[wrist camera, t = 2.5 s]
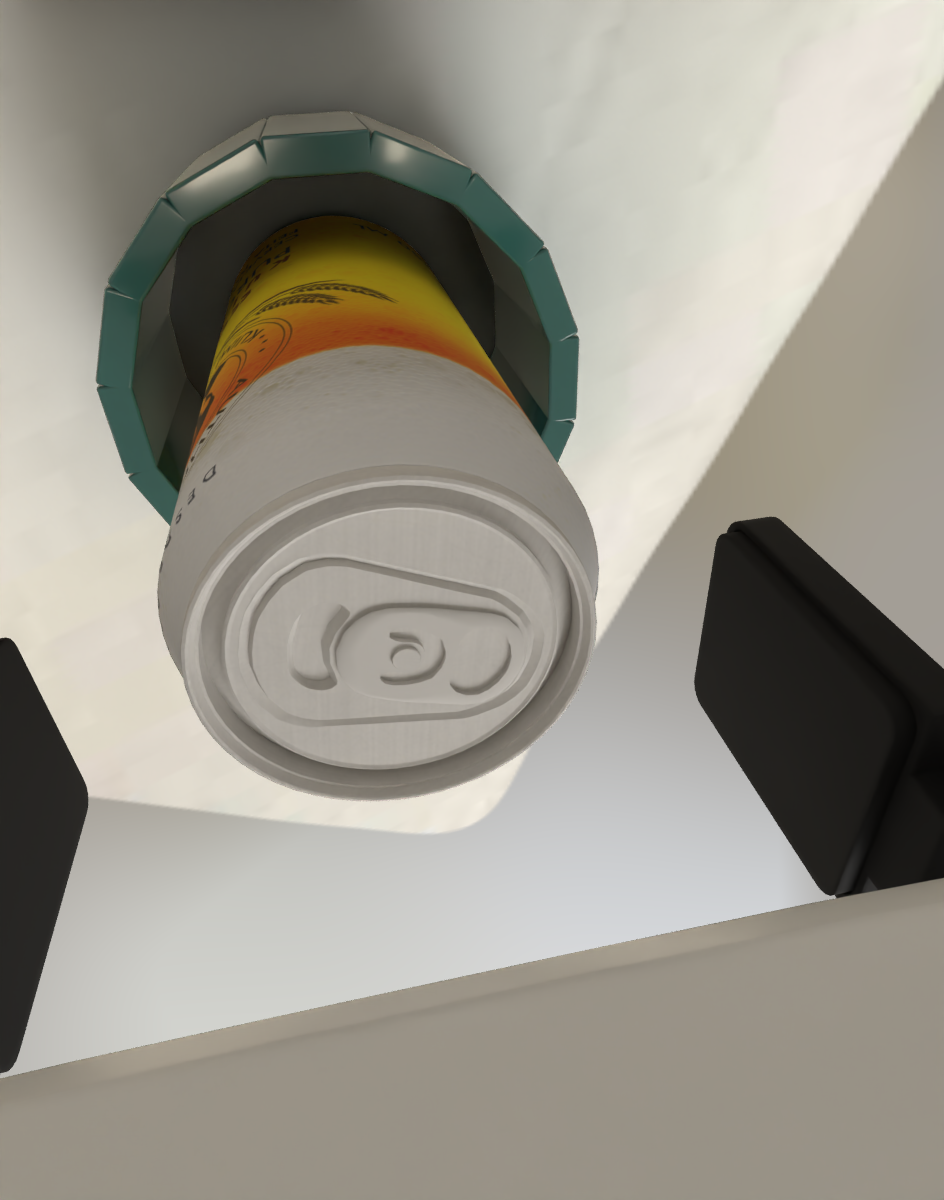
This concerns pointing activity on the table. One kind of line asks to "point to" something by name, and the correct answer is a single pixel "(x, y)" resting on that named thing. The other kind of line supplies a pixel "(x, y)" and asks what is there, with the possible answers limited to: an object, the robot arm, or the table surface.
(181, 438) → the crock
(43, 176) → the table surface
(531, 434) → the beer can
